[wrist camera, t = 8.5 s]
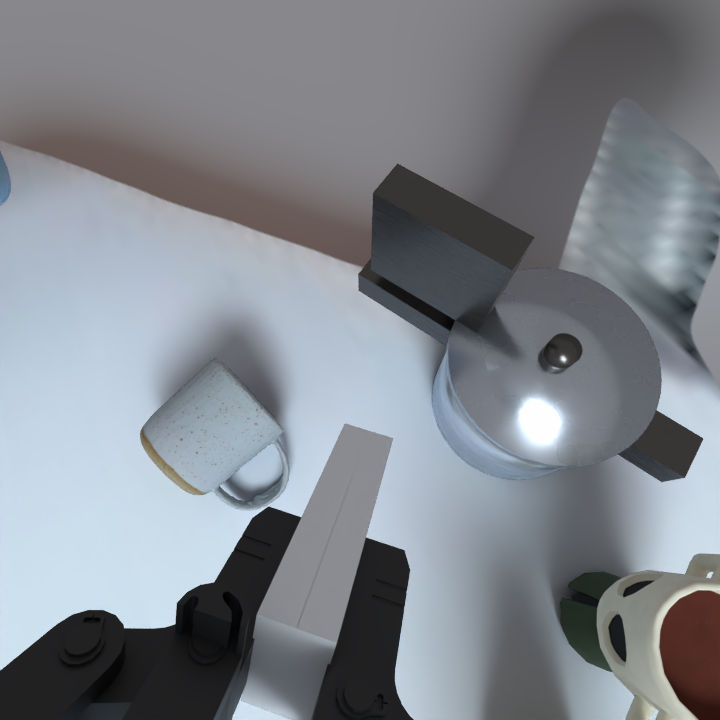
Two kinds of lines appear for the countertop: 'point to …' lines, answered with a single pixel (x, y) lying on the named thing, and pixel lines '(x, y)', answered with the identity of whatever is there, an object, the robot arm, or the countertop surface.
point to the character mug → (653, 636)
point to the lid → (518, 329)
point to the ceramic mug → (212, 435)
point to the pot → (649, 452)
